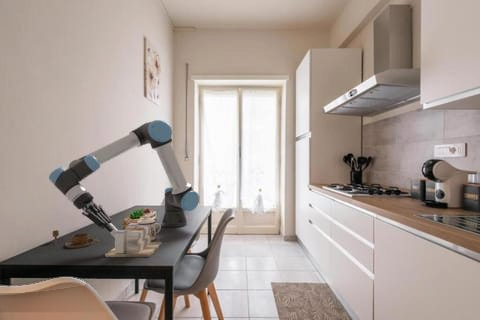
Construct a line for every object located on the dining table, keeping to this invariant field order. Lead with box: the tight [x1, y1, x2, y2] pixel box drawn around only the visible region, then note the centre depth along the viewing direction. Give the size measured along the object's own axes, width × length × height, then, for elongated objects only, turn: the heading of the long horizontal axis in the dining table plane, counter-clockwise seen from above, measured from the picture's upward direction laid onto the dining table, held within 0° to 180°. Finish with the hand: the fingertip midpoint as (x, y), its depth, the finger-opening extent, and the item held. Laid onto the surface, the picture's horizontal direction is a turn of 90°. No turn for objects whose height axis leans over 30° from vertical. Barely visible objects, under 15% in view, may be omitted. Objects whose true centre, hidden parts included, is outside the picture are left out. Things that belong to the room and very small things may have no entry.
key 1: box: [114, 229, 127, 253], centre depth 114 cm, size 3×4×9 cm
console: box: [104, 225, 162, 258], centre depth 121 cm, size 17×18×10 cm
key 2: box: [127, 222, 139, 229], centre depth 127 cm, size 3×4×9 cm
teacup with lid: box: [136, 215, 162, 242], centre depth 139 cm, size 12×9×12 cm
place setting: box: [52, 230, 100, 249], centre depth 132 cm, size 18×20×6 cm
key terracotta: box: [124, 225, 136, 234], centre depth 121 cm, size 3×4×9 cm
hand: (118, 235), depth 121 cm, fingers closed
